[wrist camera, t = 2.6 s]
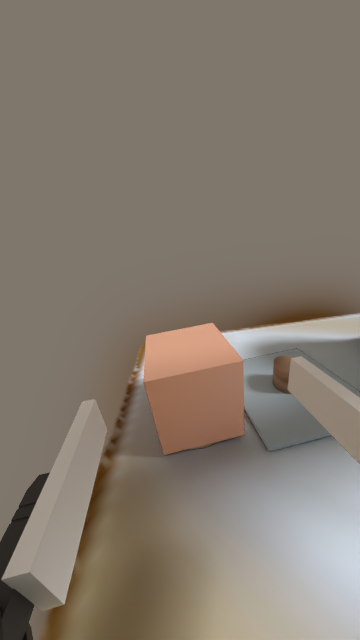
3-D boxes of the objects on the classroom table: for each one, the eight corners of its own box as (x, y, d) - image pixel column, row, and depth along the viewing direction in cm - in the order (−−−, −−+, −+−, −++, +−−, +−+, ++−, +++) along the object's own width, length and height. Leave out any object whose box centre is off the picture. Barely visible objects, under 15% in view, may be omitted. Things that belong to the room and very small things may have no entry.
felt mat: (296, 350, 37) (296, 348, 37) (393, 419, 22) (394, 415, 22) (220, 367, 36) (219, 364, 35) (268, 451, 21) (268, 448, 21)
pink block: (217, 380, 32) (212, 322, 27) (244, 434, 22) (243, 360, 18) (160, 393, 31) (146, 335, 27) (163, 455, 22) (143, 382, 17)
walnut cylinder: (282, 372, 31) (283, 352, 30) (307, 385, 28) (311, 363, 26) (267, 383, 29) (267, 362, 28) (292, 398, 26) (295, 376, 25)
